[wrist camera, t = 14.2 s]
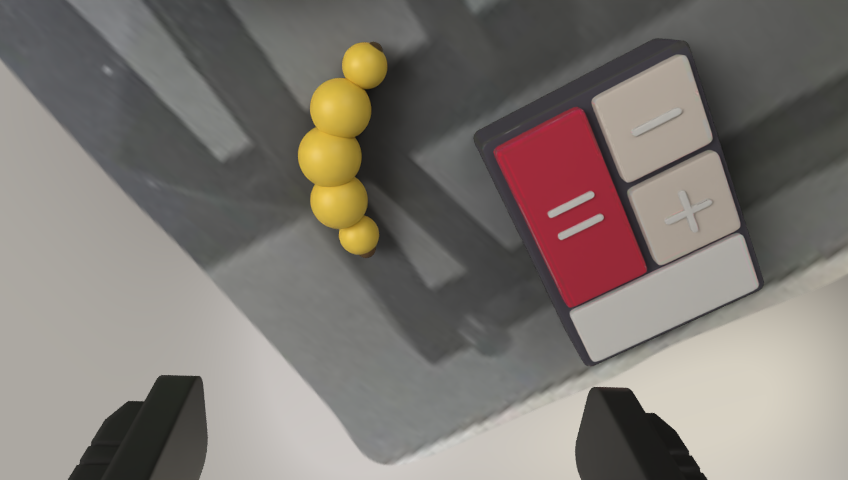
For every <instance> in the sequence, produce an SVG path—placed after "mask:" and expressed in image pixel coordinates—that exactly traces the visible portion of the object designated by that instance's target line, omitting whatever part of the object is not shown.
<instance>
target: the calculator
mask: <svg viewBox="0 0 848 480" xmlns="http://www.w3.org/2000/svg"><path fill="white" fill-rule="evenodd" d="M474 142H475V145H476V147H477V149H478V151H479V153H480V155H481V157H482V159H483V161H484V163H485V165H486V167H487V169H488V171H489V173H490V175H491V178H492V180H493V182H494V184H495V186H496V188H497V190H498V192H499V194H500V196H501V198H502V200H503V202H504V204H505V206H506V208H507V210H508V212H509V214H510V217H511V219H512V221H513V223H514V225H515V227H516V229H517V231H518V233H519V235H520V237H521V239H522V241H523V243H524V245H525V247H526V249H527V251H528V254H529V256H530V258H531V260H532V262H533V264H534V266H535V268H536V270H537V272H538V274H539V276H540V278H541V280H542V282H543V284H544V286H545V289H546V291H547V293H548V295H549V297H550V299H551V302H552V304H553V306H554V308H555V310H556V312H557V314H558V316H559V318H560V320H561V322H562V324H563V326H564V328H565V330H566V332H567V334H568V336H569V338H570V340H571V341H572V343H573V345H574V347H575V349H576V350H577V352H578V354H579V356H580V357H581V359H582V361H583V362H584V364H585V365H587V366H594V365H596V364H599V363H601V362H603V361H605V360H607V359H610V358H612V357H614V356H616V355H618V354H621V353H623V352H625V351H627V350H629V349H632V348H634V347H636V346H638V345H640V344H643V343H645V342H647V341H649V340H651V339H654V338H656V337H658V336H660V335H662V334H665V333H667V332H669V331H671V330H673V329H676V328H678V327H680V326H682V325H684V324H687V323H689V322H691V321H693V320H695V319H698V318H700V317H702V316H704V315H706V314H709V313H711V312H713V311H715V310H717V309H720V308H722V307H724V306H726V305H728V304H731V303H733V302H735V301H737V300H739V299H742V298H744V297H746V296H748V295H750V294H752V293H755V292H757V291H759V290H760V289H761V288H762V287H763V285H764V281H763V277H762V274H761V271H760V268H759V264H758V261H757V258H756V255H755V252H754V249H753V245H752V242H751V239H750V236H749V233H748V230H747V227H746V223H745V220H744V217H743V214H742V211H741V208H740V204H739V201H738V198H737V195H736V192H735V189H734V185H733V182H732V179H731V176H730V173H729V170H728V167H727V163H726V160H725V157H724V154H723V151H722V148H721V144H720V141H719V138H718V135H717V132H716V129H715V126H714V122H713V119H712V116H711V113H710V110H709V107H708V103H707V100H706V97H705V94H704V91H703V88H702V85H701V81H700V78H699V75H698V72H697V69H696V66H695V62H694V59H693V56H692V53H691V50H690V47H689V45H688V43H687V42H685V41H681V40H671V39H653V40H651V41H649V42H647V43H645V44H643V45H641V46H639V47H637V48H635V49H633V50H632V51H630V52H628V53H626V54H624V55H622V56H620V57H618V58H616V59H614V60H612V61H610V62H609V63H607V64H605V65H603V66H601V67H599V68H597V69H595V70H593V71H591V72H589V73H587V74H586V75H584V76H582V77H580V78H578V79H576V80H574V81H572V82H570V83H568V84H566V85H564V86H562V87H561V88H559V89H557V90H555V91H553V92H551V93H549V94H547V95H545V96H543V97H541V98H539V99H538V100H536V101H534V102H532V103H530V104H528V105H526V106H524V107H522V108H520V109H518V110H516V111H515V112H513V113H511V114H509V115H507V116H505V117H503V118H501V119H499V120H497V121H495V122H493V123H492V124H490V125H488V126H486V127H484V128H482V129H480V130H478V131H477V132H476V133H475V135H474Z"/></svg>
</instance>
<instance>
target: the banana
mask: <svg viewBox="0 0 848 480" xmlns="http://www.w3.org/2000/svg"><path fill="white" fill-rule="evenodd" d="M342 69H343V73H344V76H345V77H346V79H345V78H334V79H330V80H328V81H326V82H324V83H323V84H321V85H320V86H319V87H318V88H317V89H316V91H315V92H314V94H313V96H312V99H311V104H310V113H311V117H312V120H313V122H314V124H315V126H316V128H314V129H312V130H311V131H309V132H308V133H307V134H306V135H305V137H304V138H303V139H302V141H301V143H300V146H299V151H298V161H299V165H300V168H301V170H302V172H303V173H304V175H305V176H306V177H307V178H308V179H309V180H310V181H311V182H313V183H314V184H315V186H314V188H313V190H312V192H311V200H310V201H311V208H312V211H313V213H314V215H315V216H316V218H317V219H318V220H319V221H320V222H321V223H323V224H324V225H326V226H328V227H331V228H335V229H340V231H339V239H340V242H341V244H342V246H343V247H344V248H345V249H346V250H347V251H348V252H350V253H353V254H358V255H359V256H361V257H363V258H369V257H371V256H372V255H373V254H374V253H375V250H376V244H377V242H378V239H379V230H378V227H377V225H376V223H375V222H374V221H373V220H372V219H371V218H369V217H367V216H364V214H365V212H366V209H367V204H368V197H367V192H366V190H365V188H364V186H363V184H362V183H361V182H360V181H359V180H358V179H357V178H356V177H355V175H356V174H357V172H358V171H359V168H360V165H361V160H362V154H361V149H360V145H359V143H358V141H357V140H356V138H355V137H356V136H357V135H359V134H360V133H362V131H363V130H364V129H365V128H366V127H367V125H368V123H369V120H370V117H371V103H370V100H369V97H368V95H367V93H366V92H365V90H364V89H371V88H374V87H376V86H378V85H379V84H380V83H381V82H382V81H383V79H384V78H385V76H386V73H387V60H386V57H385V55H384V53H383V49H382V47H381V45H380V44H378V43H376V42H370V43H366V42H362V43H357V44H355V45H353V46H351V47H350V48H349V49H348V50H347V51H346V53H345V55H344V57H343V61H342Z"/></svg>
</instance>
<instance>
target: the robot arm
mask: <svg viewBox="0 0 848 480" xmlns="http://www.w3.org/2000/svg"><path fill="white" fill-rule="evenodd" d="M207 439H208V437H207V423H206V412H205V400H204V389H203V382H202V379H201V377H200V376H176V375H175V376H173V375H161V376H159V377H158V378H157V380H156V382H155V383H154V385H153V387H152V389H151V391H150V393H149V394H148V396H147V398H146V400H145V401H144V402H143V401H128V402H126V403H125V404H124V405H123V406H122V407H120V408H119V409H118V410H117V411H115V412H114V413H113V414H112V415H110V416H109V417H108V418H107V419H105V421H104V422H103V424H102V426H101V427H100V429H99V430H98V432H97V434H96V435H95V437H94V438H93V440H92V442H91V446H89V447H88V448H87V450H86V451H85V453H84V455H83V456H82V458H81V459H80V464H79V465H77V466H76V468H75V469H74V471H73V472H72V474H71V475H70V477H69V479H68V480H199V478H200V475H201V472H202V469H203V466H204V462H205V458H206V452H207ZM575 456H576V464H577V469H578V472H579V475H580V478H581V480H707V478H706V477H705V475H704V474H703V473H701V472H700V468H699V466H698V465H697V463H696V461H695V460H694V458H693V457H692V456H690V455H689V451H688V449H687V448H686V446H685V445H684V443H683V442H682V440H681V439H680V437H679V435H678V434H677V432H676V431H675V430H674V429H673V428H672V427H670V426H669V425H668V424H667V423H666V422H665V421H663V420H662V419H661V418H660V417H659V416H657V415H656V414H655V413H645V411H644V410H643V408H642V406H641V405H640V403H639V401H638V400H637V398H636V397H635V395H634V394H633V392H632V391H631V390H630V389H629V388H613V387H612V388H611V387H593V388H591V390H590V391H589V394H588V397H587V401H586V405H585V409H584V413H583V417H582V421H581V424H580V428H579V432H578V437H577V440H576V447H575Z"/></svg>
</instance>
